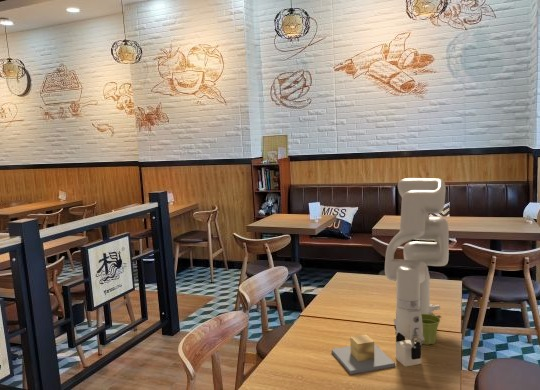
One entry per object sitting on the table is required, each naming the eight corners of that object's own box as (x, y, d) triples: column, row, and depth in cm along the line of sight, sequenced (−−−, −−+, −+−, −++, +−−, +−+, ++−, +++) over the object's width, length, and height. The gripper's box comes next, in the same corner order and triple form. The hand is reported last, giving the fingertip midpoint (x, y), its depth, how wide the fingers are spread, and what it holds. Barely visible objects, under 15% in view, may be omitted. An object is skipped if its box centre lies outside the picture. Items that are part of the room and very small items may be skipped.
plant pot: (409, 343, 169) (409, 320, 168) (417, 333, 177) (417, 312, 176) (436, 349, 164) (436, 325, 163) (442, 339, 172) (443, 316, 171)
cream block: (411, 355, 160) (411, 339, 159) (421, 363, 154) (421, 346, 154) (395, 358, 159) (395, 341, 158) (405, 366, 153) (405, 349, 152)
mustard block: (366, 350, 162) (366, 334, 162) (374, 358, 157) (374, 341, 156) (350, 353, 161) (350, 336, 160) (358, 361, 155) (357, 344, 154)
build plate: (372, 345, 169) (372, 342, 168) (395, 366, 153) (395, 363, 153) (331, 352, 165) (331, 349, 165) (350, 374, 149) (350, 370, 149)
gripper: (433, 310, 146) (433, 362, 148) (404, 293, 163) (404, 340, 165) (412, 313, 145) (412, 365, 146) (385, 296, 161) (385, 343, 163)
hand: (408, 352), depth 156 cm, fingers open, 9 cm apart
